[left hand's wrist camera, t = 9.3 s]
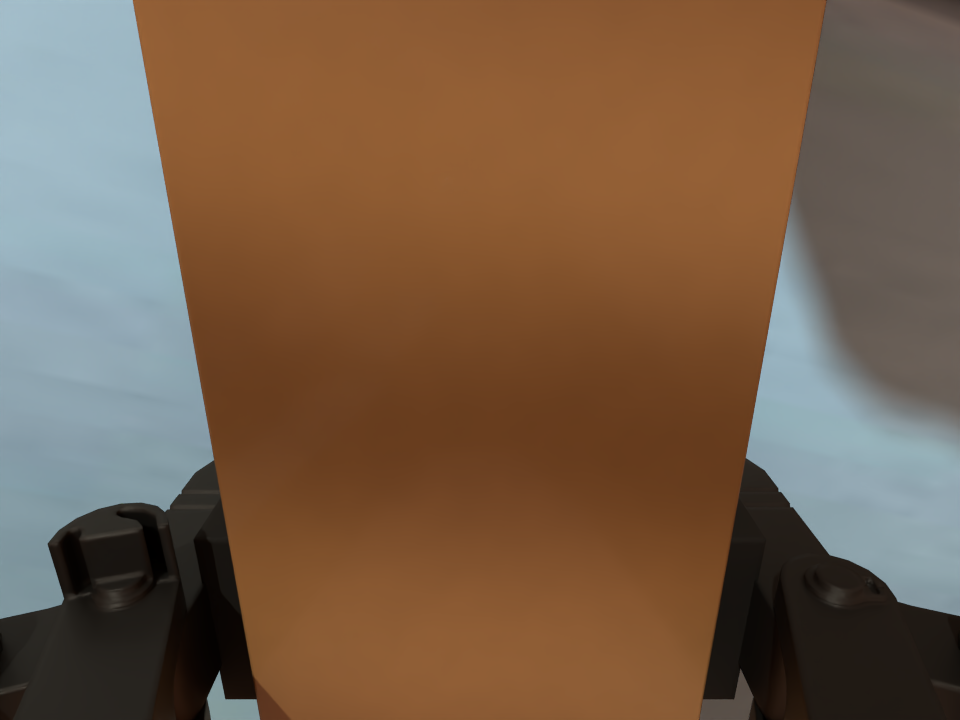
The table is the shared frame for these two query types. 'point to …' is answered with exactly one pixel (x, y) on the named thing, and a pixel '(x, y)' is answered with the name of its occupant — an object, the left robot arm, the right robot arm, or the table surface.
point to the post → (479, 332)
